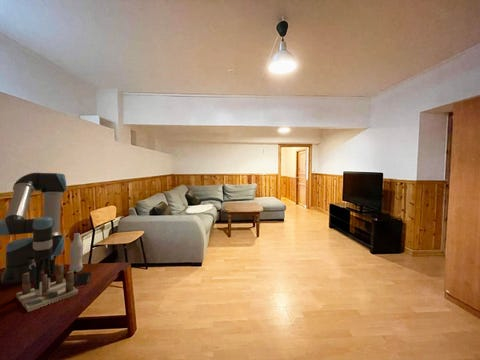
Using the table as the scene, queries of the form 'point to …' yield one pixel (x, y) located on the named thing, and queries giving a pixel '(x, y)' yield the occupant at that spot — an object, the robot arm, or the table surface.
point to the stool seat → (61, 286)
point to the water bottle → (76, 253)
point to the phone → (82, 278)
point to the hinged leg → (44, 287)
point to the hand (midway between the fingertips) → (42, 292)
